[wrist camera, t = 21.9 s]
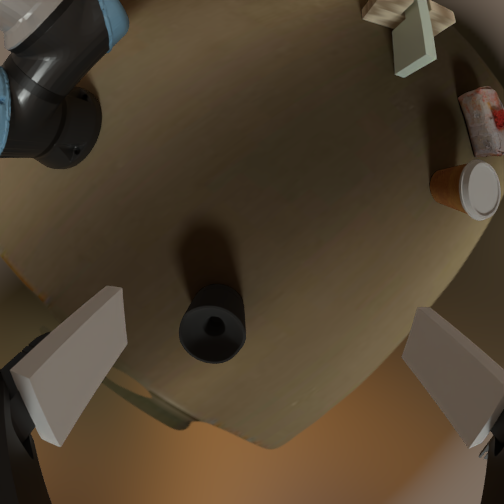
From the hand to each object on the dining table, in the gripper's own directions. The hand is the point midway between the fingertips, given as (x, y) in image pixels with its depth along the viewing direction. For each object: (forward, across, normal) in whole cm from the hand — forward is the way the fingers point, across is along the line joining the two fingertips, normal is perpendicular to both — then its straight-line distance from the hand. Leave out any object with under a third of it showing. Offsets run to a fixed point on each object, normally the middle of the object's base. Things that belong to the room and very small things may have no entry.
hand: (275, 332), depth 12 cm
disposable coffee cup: (+35, +33, +10) cm, 49 cm away
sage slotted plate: (+35, +23, +41) cm, 58 cm away
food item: (+35, +42, +25) cm, 60 cm away
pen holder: (+35, -5, -15) cm, 38 cm away
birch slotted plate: (+35, +23, +41) cm, 58 cm away
